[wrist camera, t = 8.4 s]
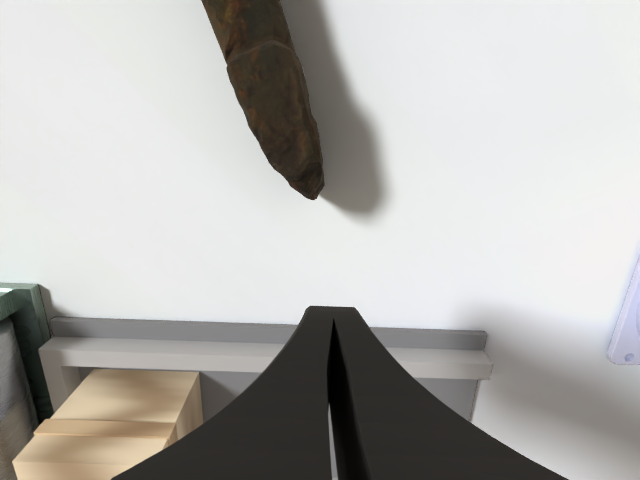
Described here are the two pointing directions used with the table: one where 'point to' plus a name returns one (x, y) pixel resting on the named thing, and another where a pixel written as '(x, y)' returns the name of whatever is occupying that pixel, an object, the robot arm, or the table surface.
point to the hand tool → (270, 87)
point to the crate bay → (246, 357)
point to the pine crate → (112, 425)
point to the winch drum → (21, 371)
